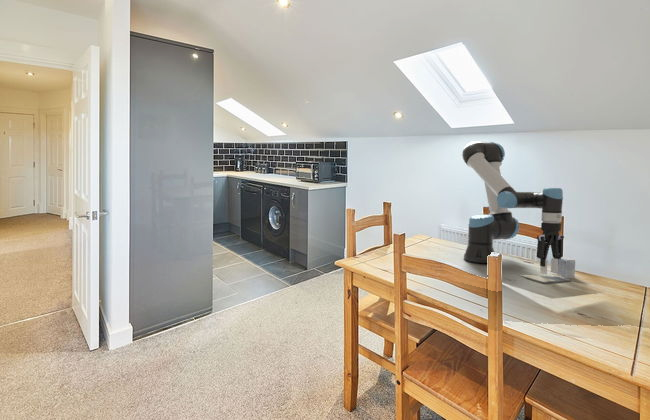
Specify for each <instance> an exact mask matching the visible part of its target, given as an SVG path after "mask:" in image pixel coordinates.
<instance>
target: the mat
mask: <svg viewBox="0 0 650 420" xmlns="http://www.w3.org/2000/svg"><path fill="white" fill-rule="evenodd" d="M519 277H522V278H524V279H525V280H529V281H532V282H536V283H539V284H543V285H551V284H557V283H559V284H560V283H568V282H569V283H570V282H572V281H573V280H572V279H570V278H565V277H563V276H551V275H550V276H549V275H547V276H546V275H545V276H544V275H535V274H519Z"/></svg>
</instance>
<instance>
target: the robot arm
mask: <svg viewBox="0 0 650 420" xmlns="http://www.w3.org/2000/svg"><path fill="white" fill-rule="evenodd" d="M505 155H506V152H505V149H504V147H503V146H502V145H501V144H500V143H496V142H492V141H490V142H486V141H471V142H469V143H468V144H466V146H465V147H464V148H463V150H462V154H461V156H462V159H463V161H464V163H465V164H466V165H467V167H468V168H471V169H473V171H475V173H476V174H477V175H478V176H479V177H480V179H481V180H482V181H483V182H484V187H485V192H486V196H487V197H486V198H487V204H488V209H489V213H488V214H476V215H472V216H470V217H469V219H468V220H469V221H468V234H467V235H468V239H467V247H466V249H465V252H464V254H463V259H464V260H465V261H468V262H471V263H481V264H488V263H487V256H488V255H490V254H491V252H494V253H495V250H494V246H493V243H494V240H502V241H503V240H510V239H511V240H512V239H513V238H514V237H516V236H517V234H518V233H519V230H520V223H519V221H518V219H516V218H515V217H513V213H512V212H511V211H510V210H509V209H541V223H540V224H541V226H540V229H541V231H542V233H541V235H537V236H536V240H537V245H536V247H537V248H536V258H537V259H540V260H539V263H540V264H539V266H540V271H539V272H540V274H542V275H543V274H544V275H547V274H548V265H549V264H548V261H549V260H548V259H547V257H548V255H549V249H550V251H551V254H552V257H550V258H551V259H550V273H553V274H557V272H558V260H559V259H561V257H564V256H563V254H564V253H563V252H564V251H563V250H564V239H565V236H564V235H561V234H560V233H559V232H561V231H562V214H563V213H562V212H563V200H564V196H563V195H564V194H563V193H564V192H563V188H561V187H544V188H543V189H542V191H541V192H537V191H536V192H534V191H525V192H524V191H516V190H515V189H514V188H513V187H512V185H510V183H508V182H507V180H506V179H505V178H504V177H503V176H502V175H501V174H502V173H501V169H500V167H501V166H502V164H503V161H504V159H505V157H506V156H505Z"/></svg>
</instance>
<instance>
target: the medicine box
mask: <svg viewBox="0 0 650 420" xmlns="http://www.w3.org/2000/svg"><path fill="white" fill-rule="evenodd" d="M575 273H576V260H575V259H572V258H568V257H565V256H562V257H561V259H559V260H558V272H557V273H556V274H557V275H559V276H560V277H562V278H566V279H575V277H576V276H575V275H576V274H575Z"/></svg>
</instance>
